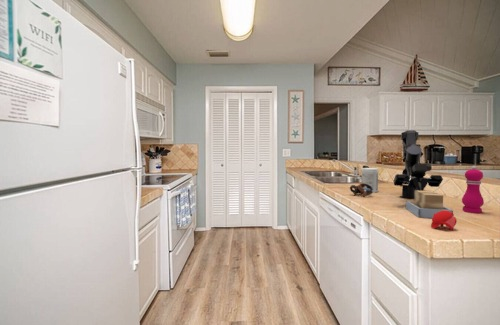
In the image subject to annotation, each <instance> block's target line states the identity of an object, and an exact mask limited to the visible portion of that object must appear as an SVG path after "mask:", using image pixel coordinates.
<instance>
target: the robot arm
mask: <svg viewBox="0 0 500 325" xmlns="http://www.w3.org/2000/svg"><path fill="white" fill-rule="evenodd" d="M400 140H401V142H402V145H403V146H404V150H402V158H404V167H405V168H404V169H403V170H402V172H401V173H397V174H395V176H394V179H393V185H394V186H397V187H401V188H402V189H401V190H402V191H401V195H399V197H400V198H403V199H404V198H405V199H409V200H410V199H411V200H412V199H413V200H414V199H415V190H423V191H425V189H426V186H427V185H428V187H432V188H433V187H434V188H437V187H438V188H439V187H440V185H441V184H442V182H443V180H444V178H443V176H442V175H441V174H431V175H430V176H429V177H425V176H426V175H427V174H426V172H431V171H432V170H433V169H432V168H433V167H432V165H431V163H430V162H429V163H420V160H421V158H422V157H423V156H424V152H423V151H422V148H421V147H420V146H418V145H417V141H418V140H419V132H417V130H412V129H411V130H405V131H403V132H401V134H400Z"/></svg>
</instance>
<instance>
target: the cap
mask: <svg viewBox="0 0 500 325" xmlns="http://www.w3.org/2000/svg"><path fill="white" fill-rule="evenodd" d="M456 224H457V218H456V216H455V215H454V212H453V213H452V212H450V211H446V210H444V211H440V212H437V213H436V214H434V216H433V218H431V223H430V228H431V229H436V228H438V227H440V226H441V227H443V226H444V225H445V227H446V228H448V229H449V230H450V231H453V229H454V227H455V226H456Z"/></svg>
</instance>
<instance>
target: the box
mask: <svg viewBox="0 0 500 325" xmlns="http://www.w3.org/2000/svg"><path fill="white" fill-rule="evenodd" d="M405 210H408V211H409V212H410V213H411V214H413V215H415V216H416V217H417V218H422V219H423V218H425V219H426V218H427V219H432V218H433V216H434V214H436V213H437V212H440V211H444V210H446V211H450V212H452V213H453V214H454V210H453V209H451V208H449V207H446V206H444V205H443V210H442V209H423V208H419V207H417V206H416V205H414V203H412V202H410V201H408V200H406V201H405Z"/></svg>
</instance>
